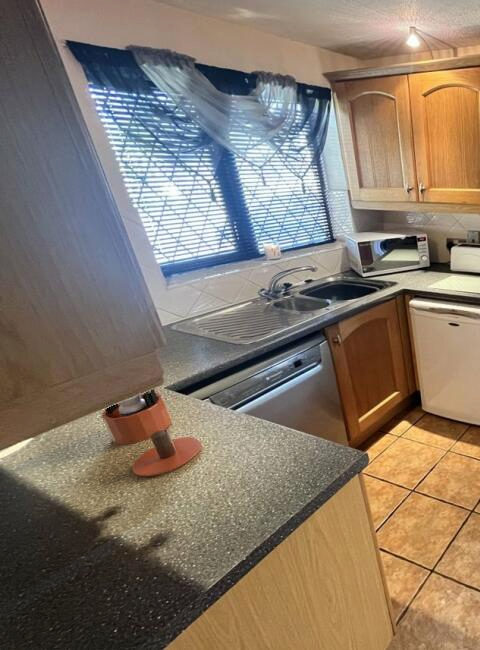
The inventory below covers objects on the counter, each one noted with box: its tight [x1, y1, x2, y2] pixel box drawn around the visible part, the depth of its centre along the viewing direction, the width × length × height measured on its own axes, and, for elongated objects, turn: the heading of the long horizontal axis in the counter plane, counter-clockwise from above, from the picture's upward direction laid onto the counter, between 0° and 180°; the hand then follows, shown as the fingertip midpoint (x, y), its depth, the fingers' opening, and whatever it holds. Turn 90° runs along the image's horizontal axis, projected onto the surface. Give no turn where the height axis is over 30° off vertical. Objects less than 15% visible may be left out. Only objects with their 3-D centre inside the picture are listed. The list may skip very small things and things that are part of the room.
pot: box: [101, 392, 173, 445], centre depth 99 cm, size 11×11×8 cm
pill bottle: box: [119, 395, 148, 417], centre depth 99 cm, size 5×5×10 cm
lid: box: [131, 429, 202, 477], centre depth 89 cm, size 12×12×7 cm
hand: (133, 407), depth 98 cm, fingers open, 7 cm apart
